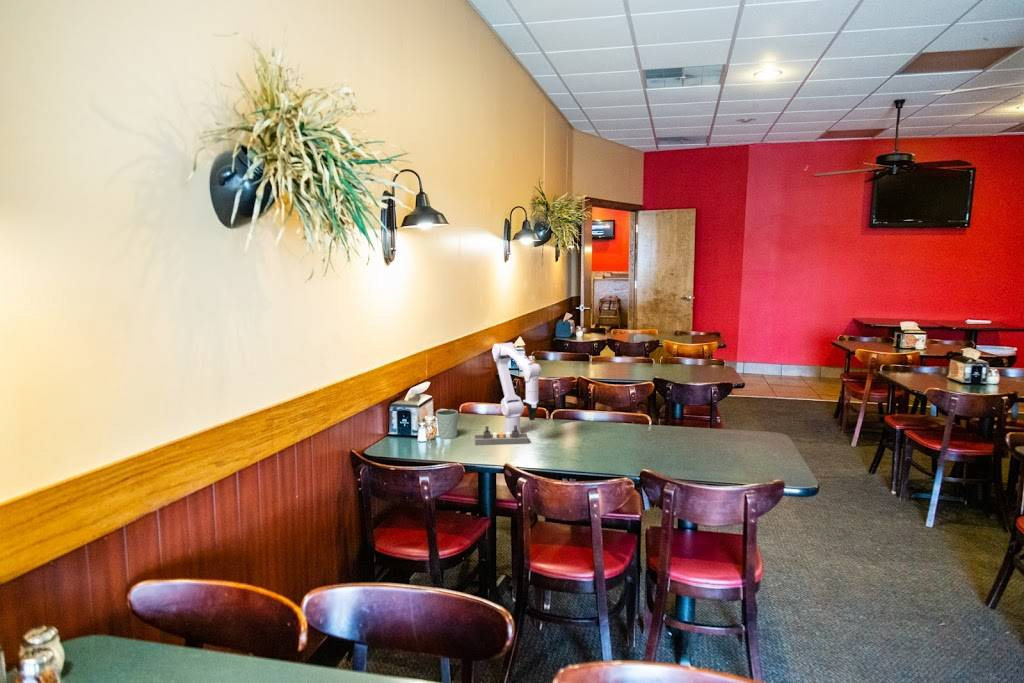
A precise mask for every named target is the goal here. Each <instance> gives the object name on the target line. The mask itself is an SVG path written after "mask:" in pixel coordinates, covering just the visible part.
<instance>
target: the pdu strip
mask: <svg viewBox="0 0 1024 683" xmlns="http://www.w3.org/2000/svg"><path fill="white" fill-rule="evenodd" d="M525 444H526V445H527V444H529V436H528V435H527V433H521V434H519V437H512V434H510V437H507V438H506V434H504V433H503V438H500V437H499V433H497V438H493V433H492V434H491V438H484V434H474V445H475V446H493V445H525Z"/></svg>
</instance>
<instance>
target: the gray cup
mask: <svg viewBox="0 0 1024 683" xmlns="http://www.w3.org/2000/svg"><path fill="white" fill-rule="evenodd" d="M435 415H436V420H437V433H438V434H437V435H438V438H439V439H440V440H454V439H456V438H457V437H458V419H459V418H458V417H459V411H458V410H457V409H441V410H437V411H436V414H435Z"/></svg>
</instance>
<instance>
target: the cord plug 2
mask: <svg viewBox="0 0 1024 683" xmlns="http://www.w3.org/2000/svg"><path fill="white" fill-rule="evenodd" d="M512 437H519V431H518V430H517V426H516V425H515V426H514V431H512Z"/></svg>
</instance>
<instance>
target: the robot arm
mask: <svg viewBox="0 0 1024 683" xmlns="http://www.w3.org/2000/svg"><path fill="white" fill-rule="evenodd" d="M491 353H492V357H493V361H494V362H495V363H496V368H497V372H498V375H499V381H500V384H501V387H502V388H501V389H502V392H503V396H504V397H503V398H502V399H501V401H500V405H501V406H500V411H501V414H502V415H503V416H504V429H503V434H506V432H509V433H510V434H512V431H514V426H515V425H516V426H517V430H518V431H519V434H522V431H521V416H522V414H523V413H524V411H525V407H526V410H527V414H528V419H529V421H535V419H536V414H537V411H538V409H539V407H540V406H539V404H538V403H539V401H540V400H539V376H541V374H542V367H541V365H540V364H539V363H533V361H531V360H530V358H528V357H527V355H522V354H520V353H519V351H518V350H517V348H516V344H514V343H513V342H503V343H502V342H499V343H494V344H493V346H492V350H491ZM511 360H514V361H515V364H516V366H517V367H518V369H521V371H522V372H523V376H524V377H523V378H524V381H525V399H523V400H522V398H521V396H518V395H517V394H516V392H515V388H514V384H513V381H512V376H511V373H510V368H509V365H508V363H509V362H510V361H511ZM524 403H525V404H524ZM524 405H525V406H524Z"/></svg>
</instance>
